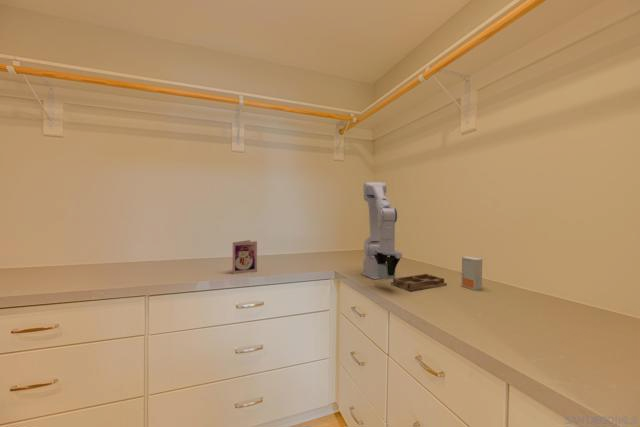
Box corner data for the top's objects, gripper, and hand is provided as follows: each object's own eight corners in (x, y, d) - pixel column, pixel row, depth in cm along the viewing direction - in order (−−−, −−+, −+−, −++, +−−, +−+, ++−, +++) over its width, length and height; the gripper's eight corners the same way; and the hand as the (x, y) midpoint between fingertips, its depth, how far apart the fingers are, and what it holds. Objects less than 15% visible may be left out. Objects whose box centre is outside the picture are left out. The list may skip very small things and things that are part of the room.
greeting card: (232, 274, 122) (232, 242, 122) (230, 271, 129) (230, 240, 129) (257, 272, 127) (257, 241, 127) (254, 268, 134) (254, 239, 134)
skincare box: (460, 286, 106) (461, 256, 106) (468, 285, 107) (469, 256, 107) (474, 290, 100) (475, 259, 100) (482, 289, 102) (482, 258, 101)
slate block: (378, 276, 102) (378, 264, 102) (387, 275, 104) (387, 263, 104) (385, 279, 98) (386, 266, 98) (395, 278, 100) (395, 265, 100)
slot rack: (390, 284, 108) (390, 277, 108) (425, 278, 117) (425, 272, 117) (411, 292, 98) (411, 285, 98) (447, 285, 107) (447, 279, 107)
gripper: (367, 237, 106) (367, 270, 106) (391, 241, 93) (391, 279, 93) (381, 236, 109) (380, 269, 109) (406, 240, 96) (406, 277, 96)
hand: (386, 273), depth 101 cm, fingers closed on slate block, 4 cm apart
